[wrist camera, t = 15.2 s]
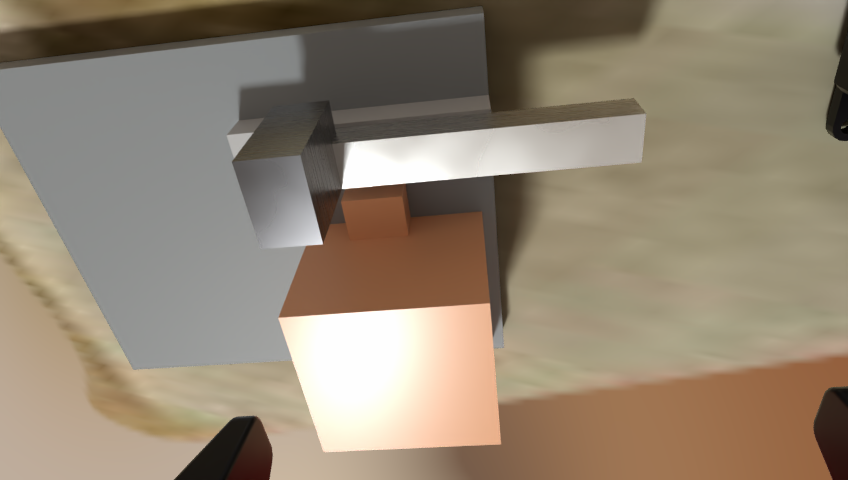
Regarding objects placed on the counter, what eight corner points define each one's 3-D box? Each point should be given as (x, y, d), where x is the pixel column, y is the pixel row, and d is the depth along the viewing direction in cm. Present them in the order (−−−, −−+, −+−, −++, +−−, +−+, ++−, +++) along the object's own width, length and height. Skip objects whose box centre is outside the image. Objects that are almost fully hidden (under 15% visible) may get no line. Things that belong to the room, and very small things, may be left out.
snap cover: (479, 172, 19) (486, 258, 15) (491, 339, 23) (500, 444, 19) (303, 188, 20) (263, 275, 15) (346, 348, 24) (323, 452, 20)
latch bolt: (636, 62, 15) (689, 117, 12) (630, 144, 17) (676, 216, 13) (277, 100, 16) (231, 161, 13) (297, 175, 18) (260, 249, 14)
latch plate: (482, 5, 17) (486, 22, 15) (502, 331, 24) (506, 369, 22) (-8, 63, 19) (-59, 85, 17) (143, 353, 26) (120, 390, 24)
